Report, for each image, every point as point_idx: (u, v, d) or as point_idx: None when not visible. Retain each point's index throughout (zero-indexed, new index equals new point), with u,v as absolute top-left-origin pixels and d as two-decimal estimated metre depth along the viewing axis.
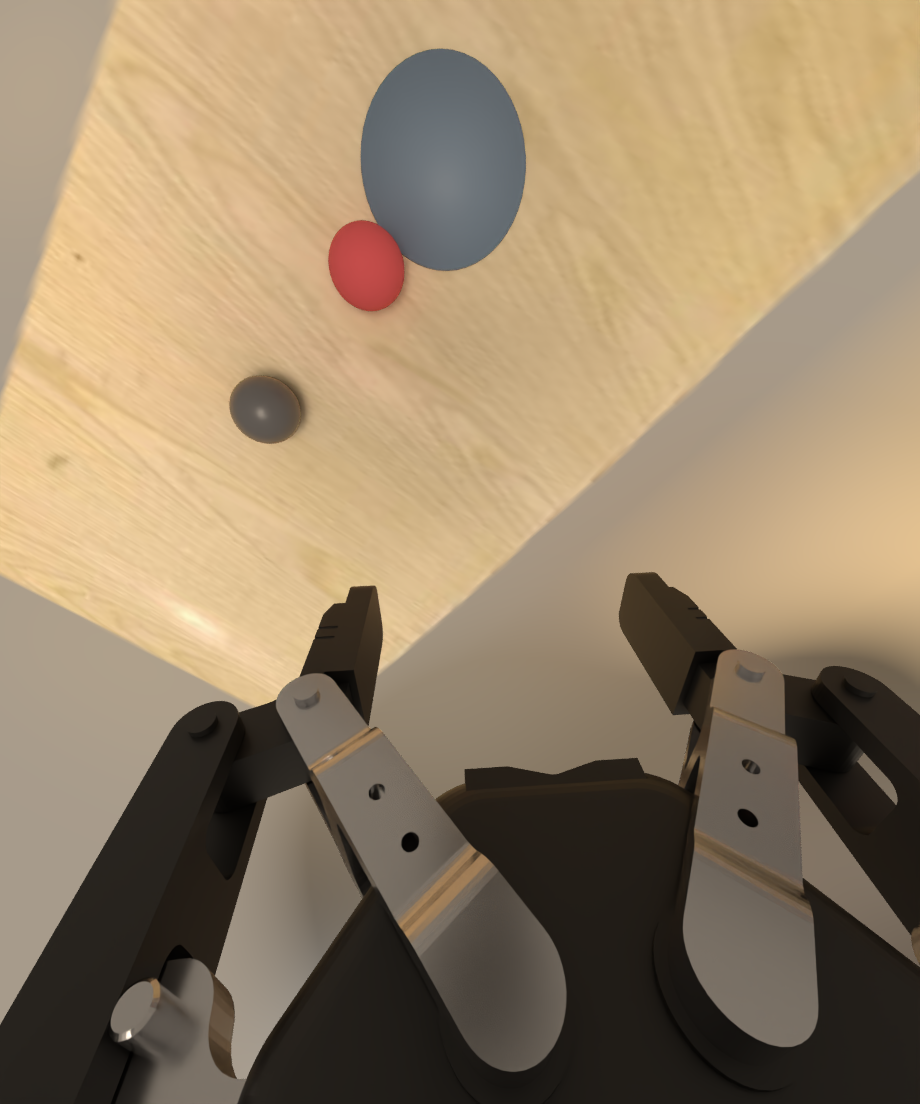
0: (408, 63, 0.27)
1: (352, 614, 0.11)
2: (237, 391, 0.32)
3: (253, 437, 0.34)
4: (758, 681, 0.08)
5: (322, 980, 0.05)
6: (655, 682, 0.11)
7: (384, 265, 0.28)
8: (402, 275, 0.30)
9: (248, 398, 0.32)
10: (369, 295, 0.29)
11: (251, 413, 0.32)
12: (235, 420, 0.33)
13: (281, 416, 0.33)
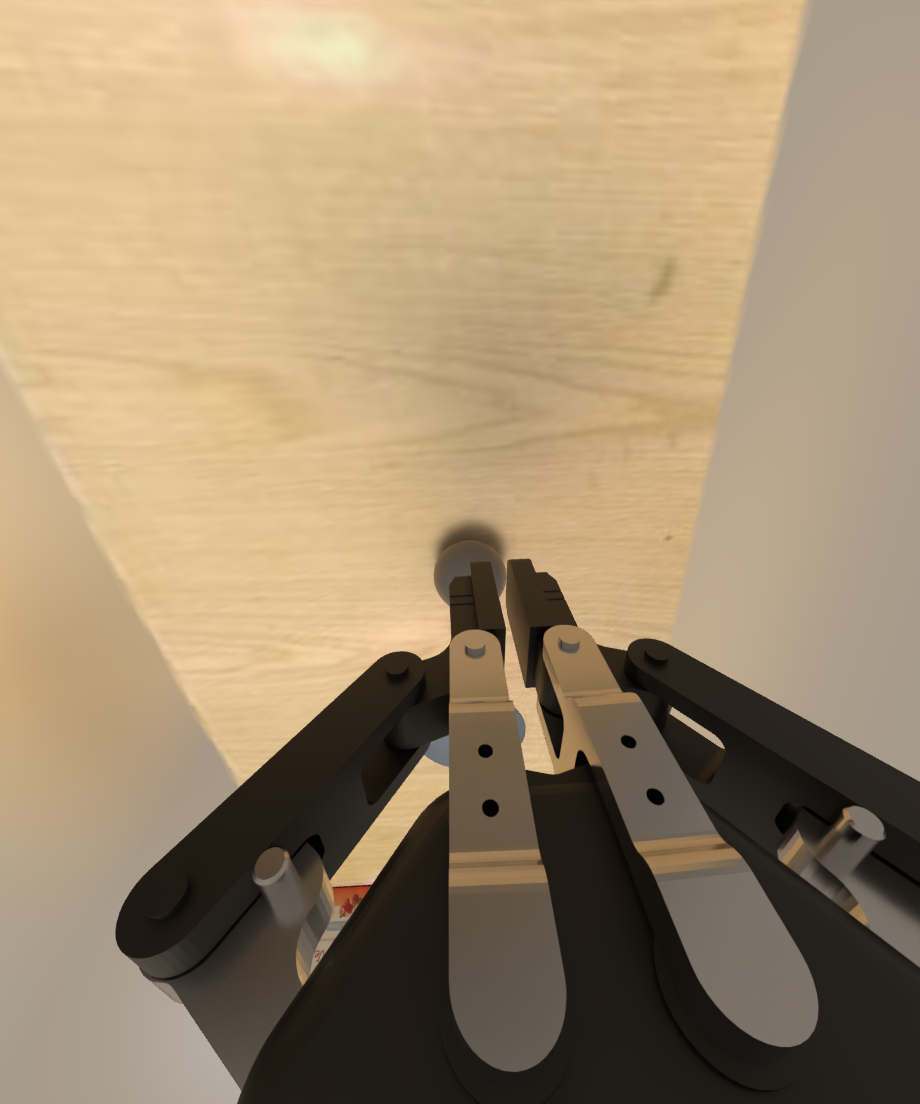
0: None
1: (482, 584, 0.12)
2: (500, 591, 0.30)
3: (461, 567, 0.28)
4: (570, 651, 0.09)
5: (322, 979, 0.05)
6: (519, 659, 0.12)
7: None
8: None
9: None
10: None
11: None
12: None
13: None
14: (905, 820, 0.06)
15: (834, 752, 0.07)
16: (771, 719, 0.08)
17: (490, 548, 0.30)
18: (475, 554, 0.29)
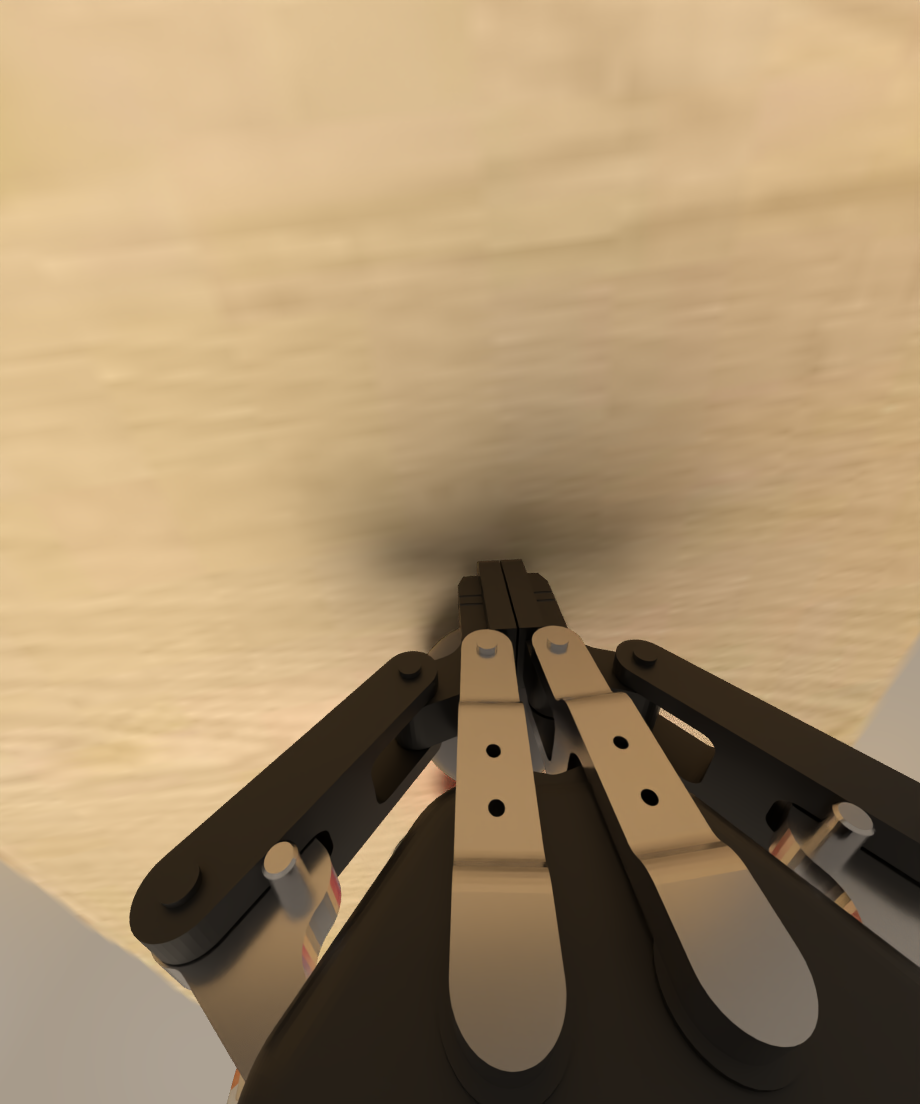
0: None
1: (491, 583, 0.12)
2: None
3: None
4: (558, 652, 0.09)
5: (322, 980, 0.05)
6: None
7: None
8: None
9: None
10: None
11: None
12: None
13: None
14: (892, 814, 0.06)
15: (820, 747, 0.07)
16: (759, 718, 0.08)
17: None
18: None
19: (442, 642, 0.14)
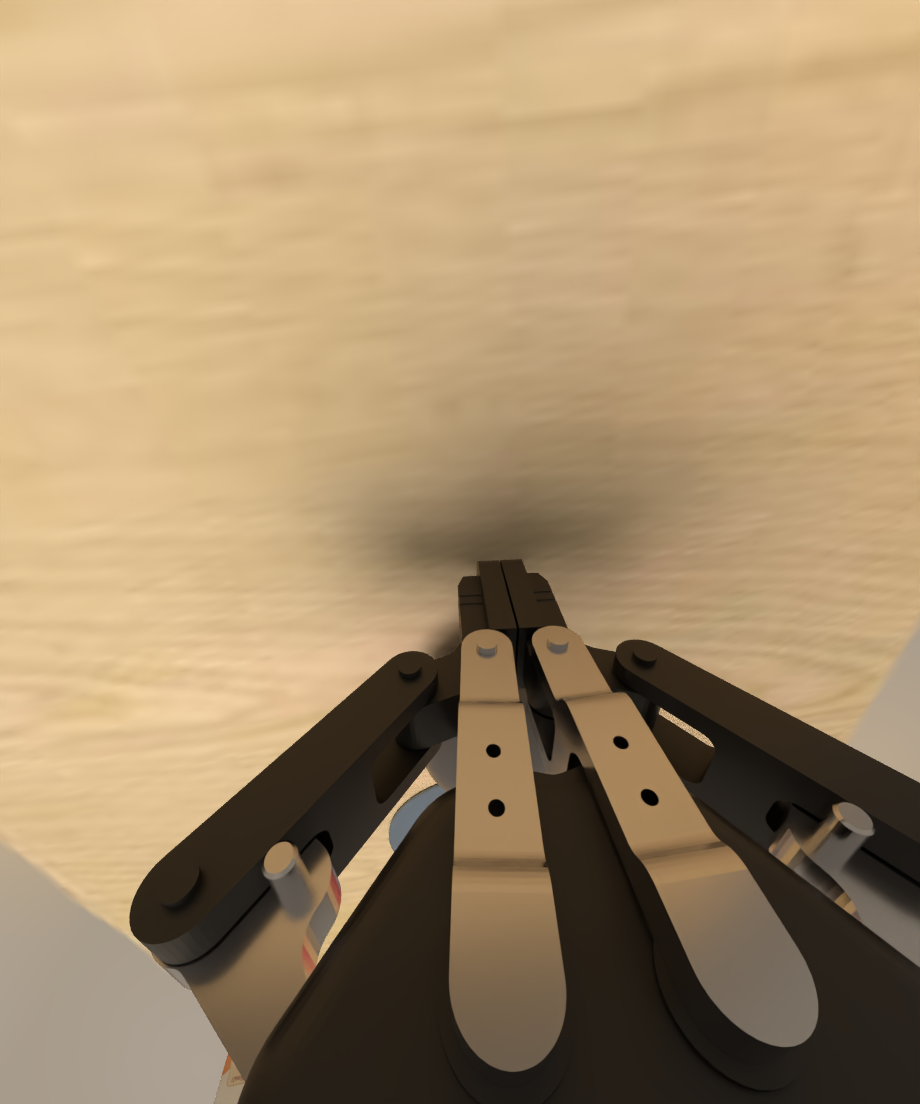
0: None
1: (491, 583, 0.12)
2: None
3: None
4: (558, 652, 0.09)
5: (322, 980, 0.05)
6: None
7: None
8: None
9: None
10: None
11: None
12: None
13: None
14: (892, 814, 0.06)
15: (821, 748, 0.07)
16: (759, 718, 0.08)
17: None
18: None
19: (442, 761, 0.13)
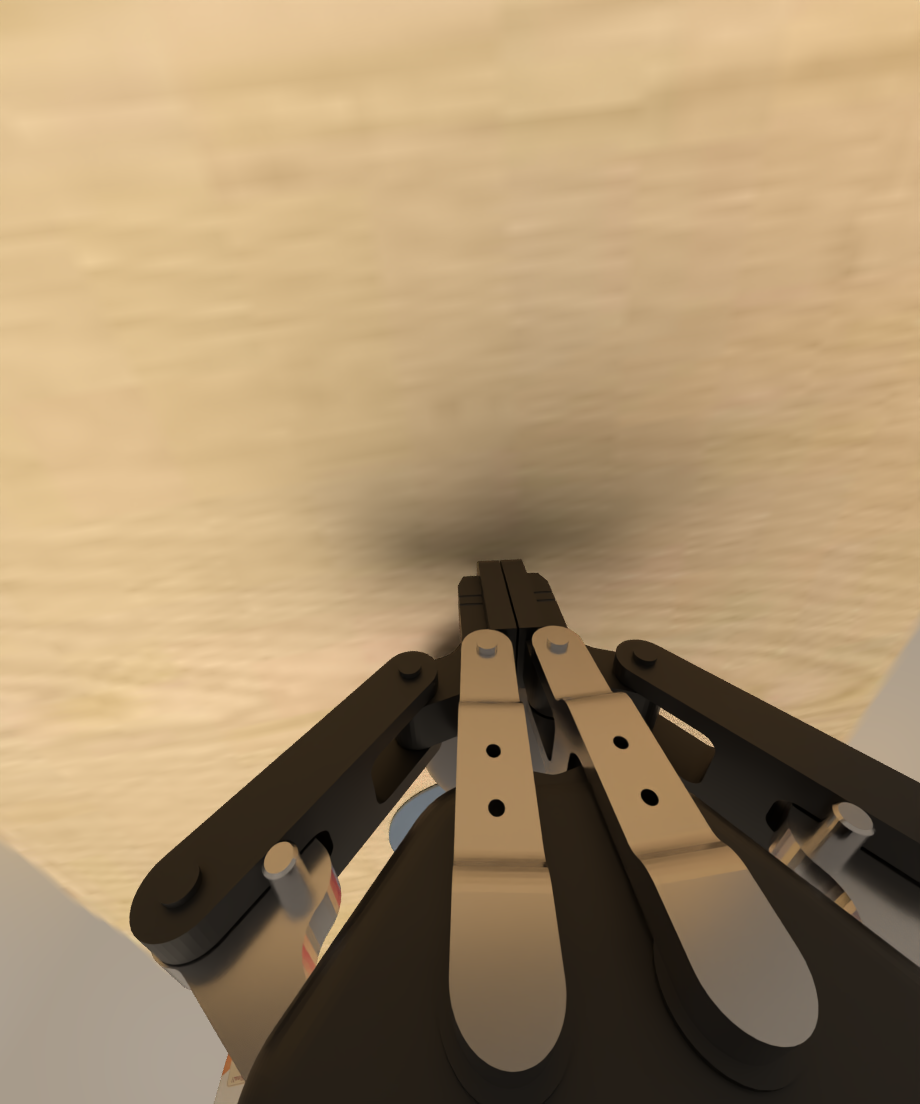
0: None
1: (491, 583, 0.12)
2: None
3: None
4: (558, 652, 0.09)
5: (322, 980, 0.05)
6: None
7: None
8: None
9: None
10: None
11: None
12: None
13: None
14: (892, 814, 0.06)
15: (821, 748, 0.07)
16: (759, 718, 0.08)
17: None
18: None
19: (442, 761, 0.13)
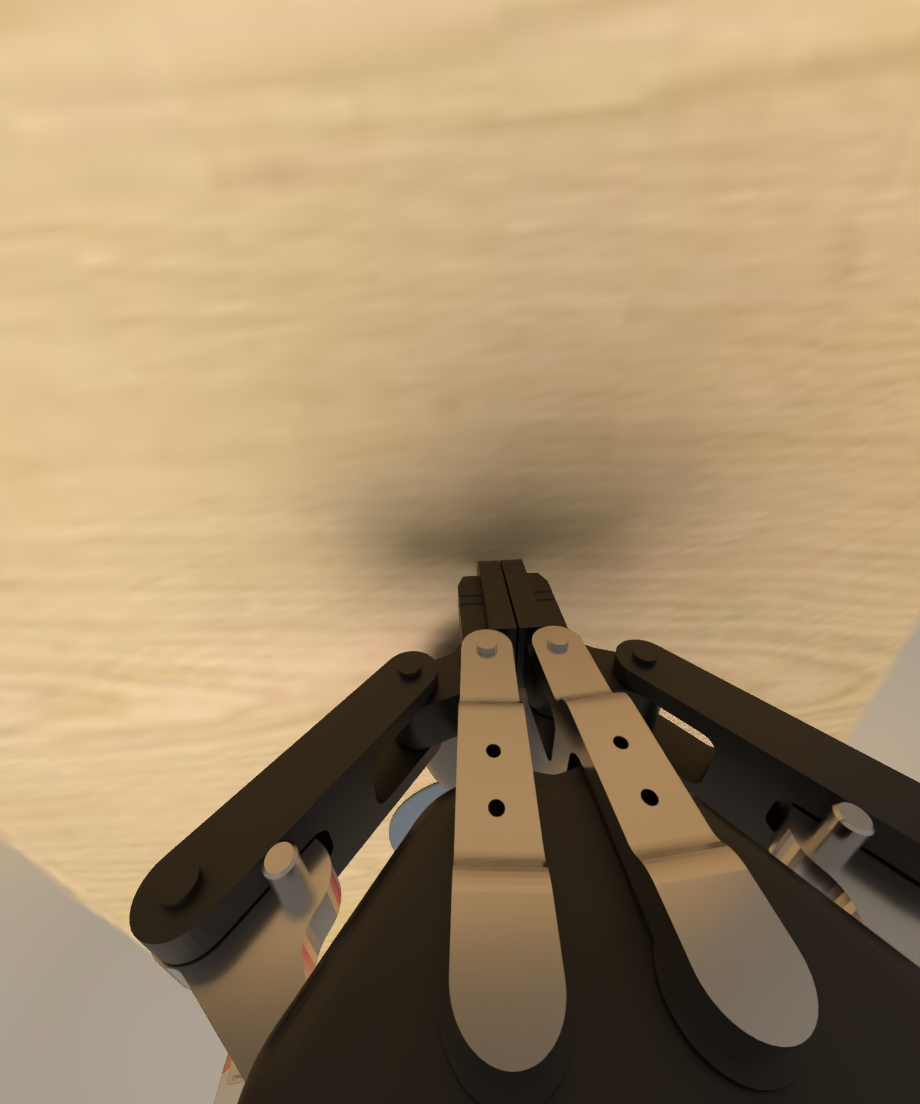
0: None
1: (491, 583, 0.12)
2: None
3: None
4: (558, 652, 0.09)
5: (322, 980, 0.05)
6: None
7: None
8: None
9: None
10: None
11: None
12: None
13: None
14: (892, 814, 0.06)
15: (821, 748, 0.07)
16: (759, 718, 0.08)
17: None
18: None
19: (443, 759, 0.14)
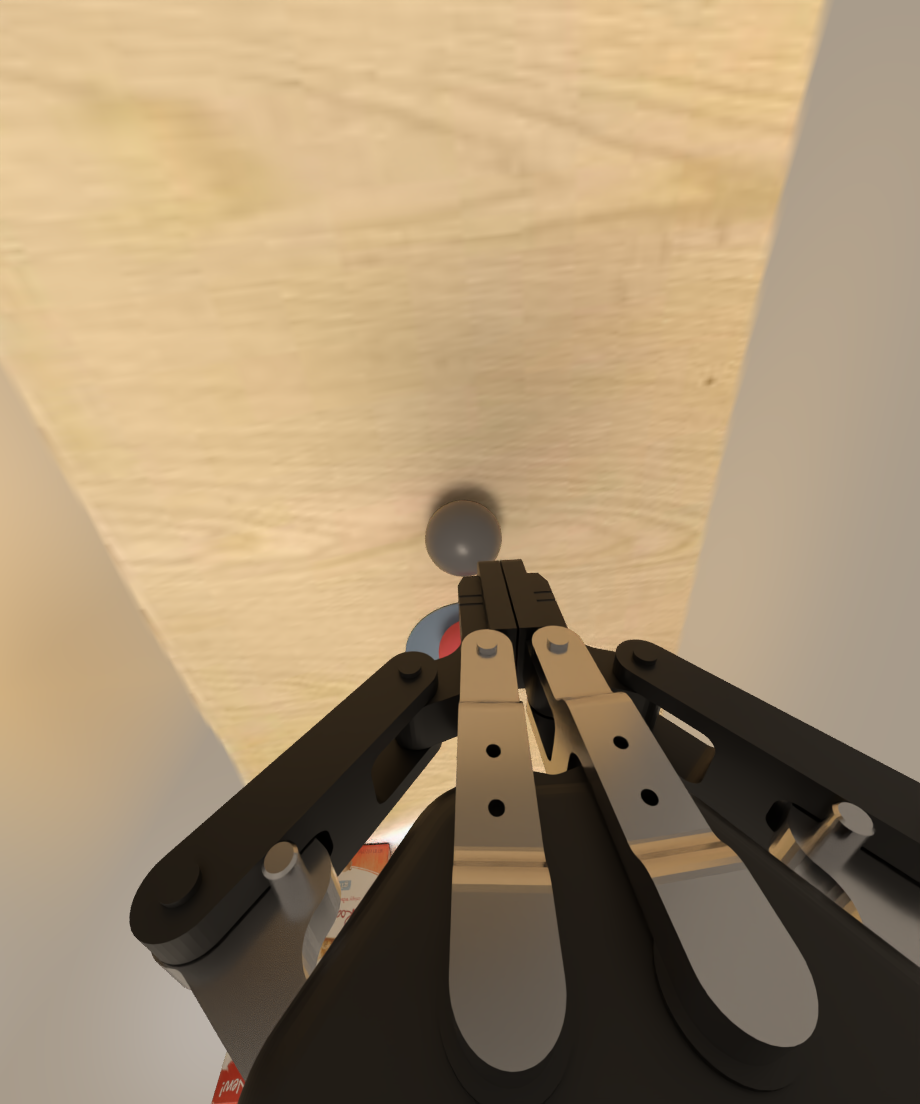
0: None
1: (492, 583, 0.12)
2: None
3: None
4: (558, 652, 0.09)
5: (322, 980, 0.05)
6: None
7: None
8: None
9: None
10: None
11: None
12: None
13: None
14: (892, 814, 0.06)
15: (821, 748, 0.07)
16: (759, 718, 0.08)
17: None
18: None
19: (439, 542, 0.27)
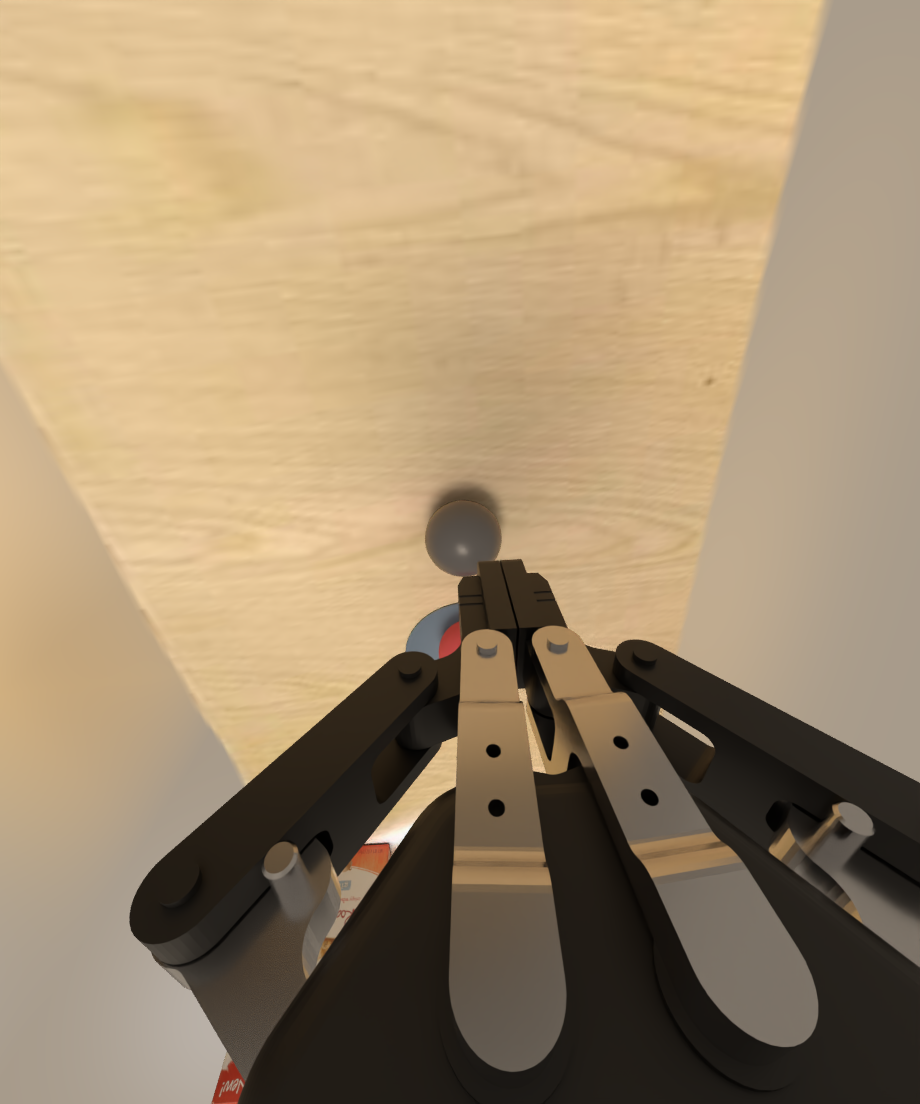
0: None
1: (491, 583, 0.12)
2: None
3: None
4: (558, 652, 0.09)
5: (322, 980, 0.05)
6: None
7: None
8: None
9: None
10: None
11: None
12: None
13: None
14: (892, 814, 0.06)
15: (821, 747, 0.07)
16: (759, 717, 0.08)
17: None
18: None
19: (439, 542, 0.27)
